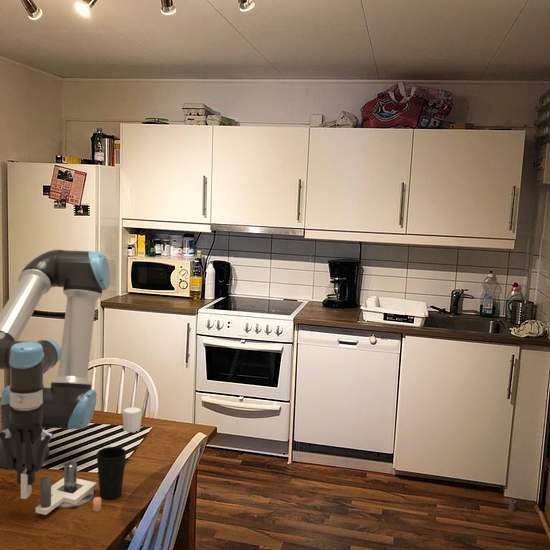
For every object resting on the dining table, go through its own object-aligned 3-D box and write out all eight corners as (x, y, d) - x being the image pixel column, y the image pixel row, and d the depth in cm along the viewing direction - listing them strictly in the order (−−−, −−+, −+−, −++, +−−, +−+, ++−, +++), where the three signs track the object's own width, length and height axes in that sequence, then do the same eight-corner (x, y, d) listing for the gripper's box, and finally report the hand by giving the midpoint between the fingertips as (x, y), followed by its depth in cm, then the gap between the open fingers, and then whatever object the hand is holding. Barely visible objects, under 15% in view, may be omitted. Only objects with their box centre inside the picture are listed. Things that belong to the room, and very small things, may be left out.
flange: (65, 480, 167) (66, 452, 166) (97, 487, 164) (97, 458, 163) (23, 509, 151) (23, 478, 150) (57, 517, 148) (57, 486, 147)
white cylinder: (146, 428, 209) (146, 409, 208) (131, 434, 203) (132, 415, 202) (132, 423, 212) (132, 404, 211) (117, 429, 206) (117, 410, 205)
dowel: (91, 510, 154) (91, 499, 154) (95, 507, 156) (96, 496, 156) (98, 512, 154) (98, 501, 153) (102, 508, 156) (102, 497, 155)
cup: (109, 504, 158) (110, 461, 156) (89, 495, 162) (90, 453, 160) (131, 493, 164) (132, 451, 163) (111, 485, 168) (112, 444, 167)
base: (36, 502, 157) (36, 469, 156) (65, 482, 168) (65, 451, 167) (75, 511, 154) (76, 478, 152) (102, 490, 165) (102, 459, 164)
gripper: (-8, 409, 144) (-7, 501, 147) (46, 412, 144) (45, 505, 147) (7, 398, 152) (7, 487, 155) (58, 402, 151) (57, 490, 154)
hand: (26, 496), depth 151 cm, fingers closed
